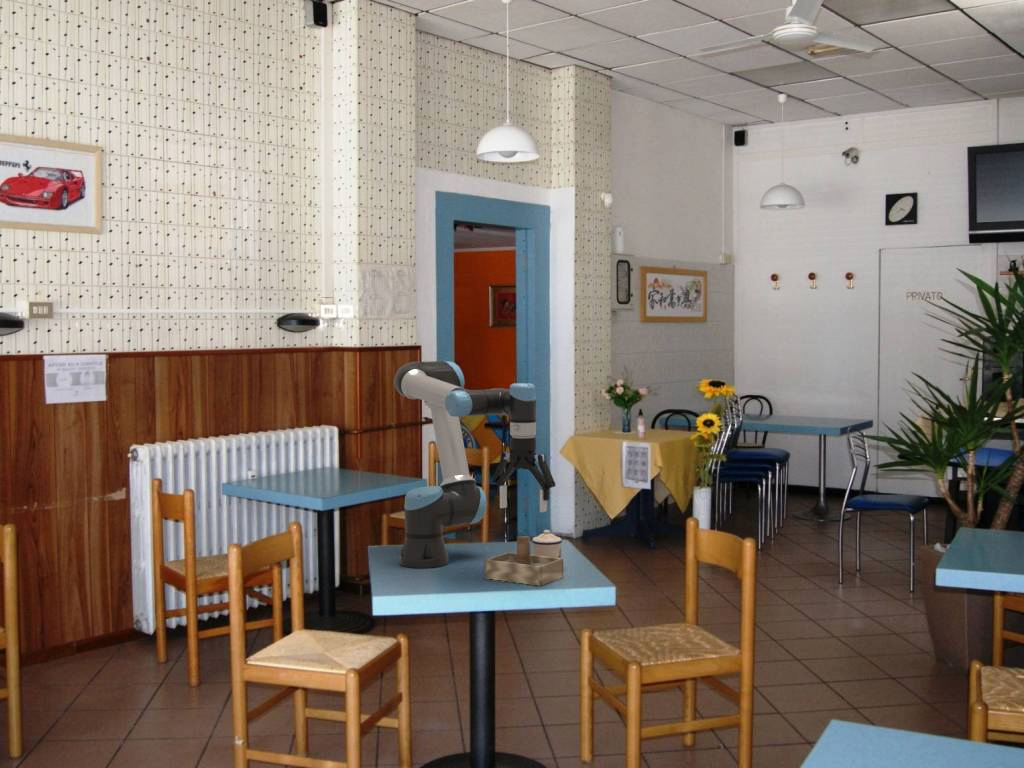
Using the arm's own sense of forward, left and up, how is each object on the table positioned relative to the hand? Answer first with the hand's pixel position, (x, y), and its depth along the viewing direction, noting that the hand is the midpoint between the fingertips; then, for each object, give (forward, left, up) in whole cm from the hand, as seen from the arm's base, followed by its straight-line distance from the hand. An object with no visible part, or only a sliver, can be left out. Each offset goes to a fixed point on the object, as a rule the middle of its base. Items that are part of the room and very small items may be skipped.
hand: (523, 509), depth 305 cm
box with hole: (0, 0, -20) cm, 20 cm away
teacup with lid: (-1, +15, -20) cm, 25 cm away
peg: (0, 0, -20) cm, 20 cm away
